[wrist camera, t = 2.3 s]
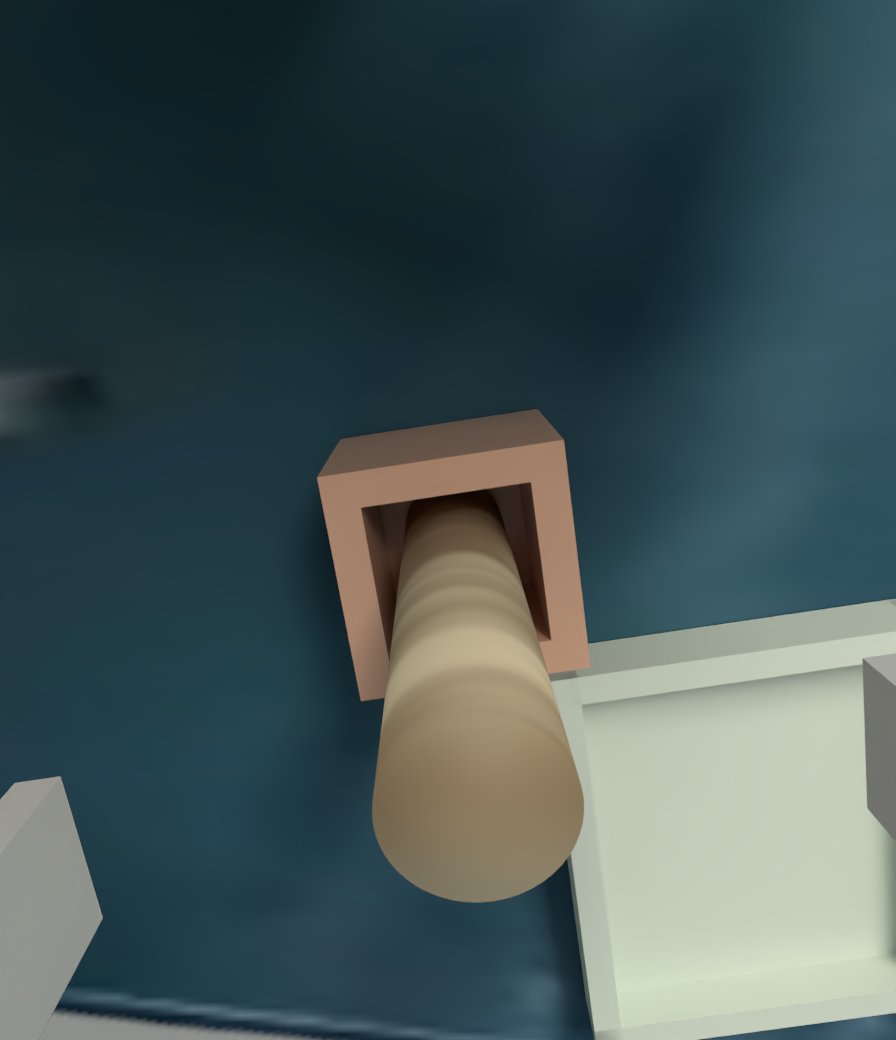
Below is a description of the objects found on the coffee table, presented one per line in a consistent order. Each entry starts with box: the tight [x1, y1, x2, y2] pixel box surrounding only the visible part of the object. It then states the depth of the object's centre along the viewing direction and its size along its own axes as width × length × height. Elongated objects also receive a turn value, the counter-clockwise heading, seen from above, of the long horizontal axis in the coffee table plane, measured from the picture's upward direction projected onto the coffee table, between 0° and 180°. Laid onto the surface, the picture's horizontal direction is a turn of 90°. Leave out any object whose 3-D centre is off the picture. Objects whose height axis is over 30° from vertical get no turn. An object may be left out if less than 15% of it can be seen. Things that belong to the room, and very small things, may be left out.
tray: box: [548, 599, 896, 1040], centre depth 31 cm, size 15×13×2 cm
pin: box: [372, 489, 584, 902], centre depth 21 cm, size 3×3×16 cm
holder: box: [317, 409, 591, 701], centre depth 26 cm, size 7×7×6 cm
